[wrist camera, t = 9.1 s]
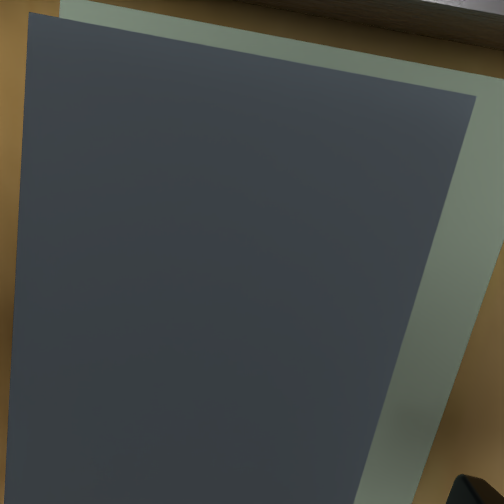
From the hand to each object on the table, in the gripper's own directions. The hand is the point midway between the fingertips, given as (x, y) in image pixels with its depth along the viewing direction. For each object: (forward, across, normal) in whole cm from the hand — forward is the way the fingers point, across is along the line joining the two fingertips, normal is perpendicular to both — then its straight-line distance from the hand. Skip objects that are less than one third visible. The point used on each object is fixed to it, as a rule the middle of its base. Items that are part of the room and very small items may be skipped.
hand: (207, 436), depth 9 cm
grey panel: (+5, 0, 0) cm, 5 cm away
